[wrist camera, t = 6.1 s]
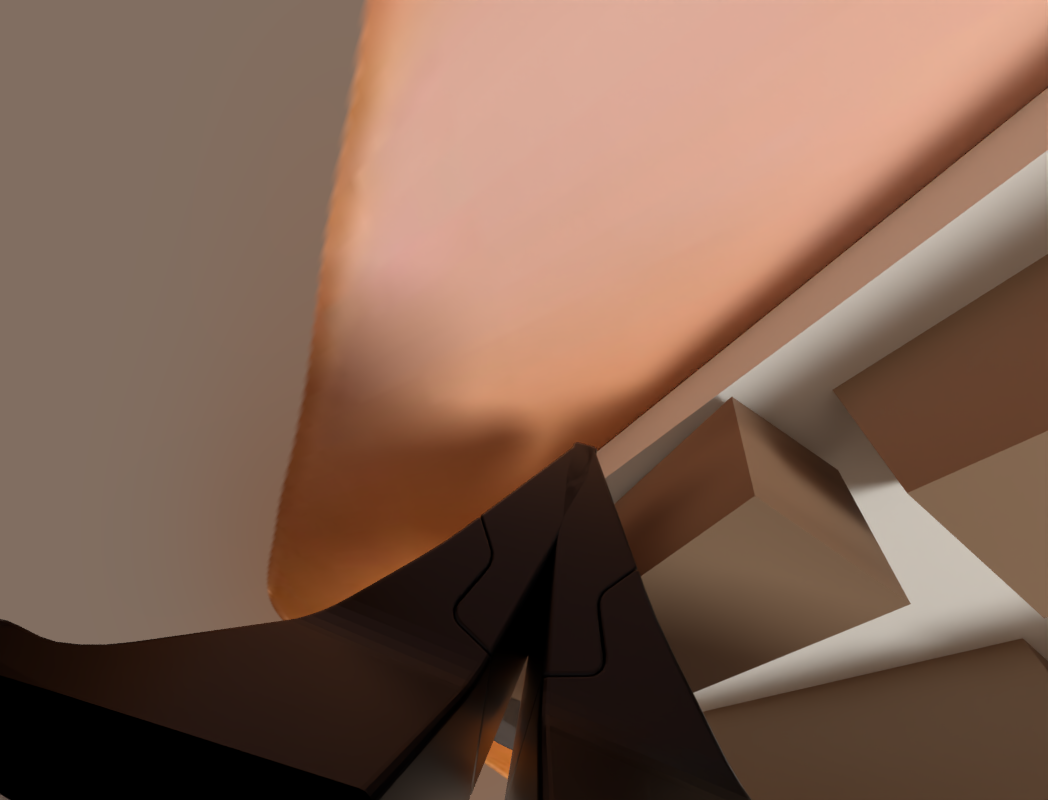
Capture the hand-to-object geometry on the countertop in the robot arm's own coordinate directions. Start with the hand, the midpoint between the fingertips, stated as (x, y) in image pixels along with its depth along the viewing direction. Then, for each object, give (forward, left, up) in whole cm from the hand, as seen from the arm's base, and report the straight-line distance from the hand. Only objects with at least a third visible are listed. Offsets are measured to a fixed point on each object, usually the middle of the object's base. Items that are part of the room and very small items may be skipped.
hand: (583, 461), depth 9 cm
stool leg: (-3, +2, -1) cm, 4 cm away
